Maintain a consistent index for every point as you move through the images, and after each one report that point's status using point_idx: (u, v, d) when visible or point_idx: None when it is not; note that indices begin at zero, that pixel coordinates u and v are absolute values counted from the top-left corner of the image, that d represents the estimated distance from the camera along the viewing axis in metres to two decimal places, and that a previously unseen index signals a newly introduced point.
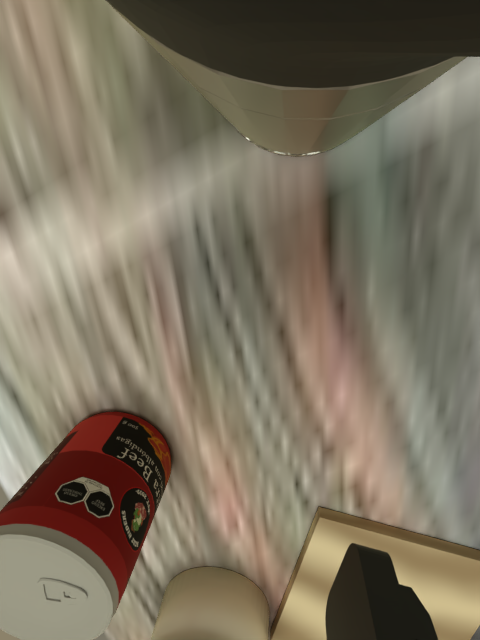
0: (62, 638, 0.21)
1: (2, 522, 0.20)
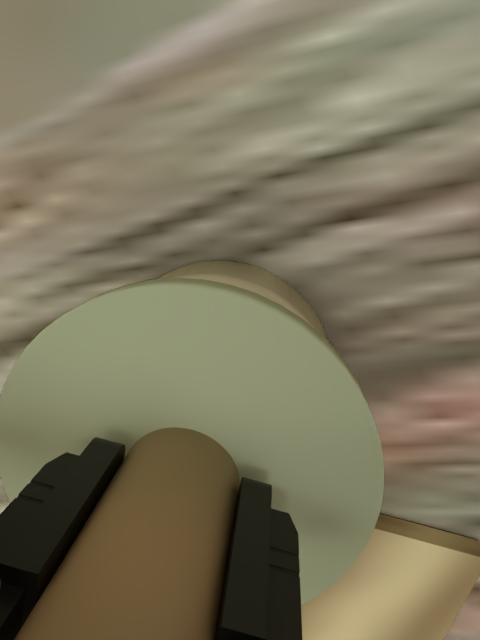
0: None
1: None
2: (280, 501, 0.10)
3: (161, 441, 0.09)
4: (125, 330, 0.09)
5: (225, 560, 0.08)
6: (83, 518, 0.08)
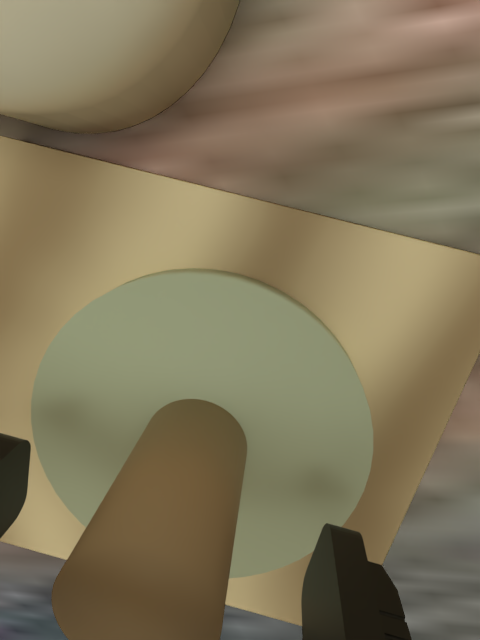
0: None
1: None
2: (282, 463, 0.12)
3: (179, 409, 0.11)
4: (147, 313, 0.11)
5: (237, 504, 0.09)
6: None
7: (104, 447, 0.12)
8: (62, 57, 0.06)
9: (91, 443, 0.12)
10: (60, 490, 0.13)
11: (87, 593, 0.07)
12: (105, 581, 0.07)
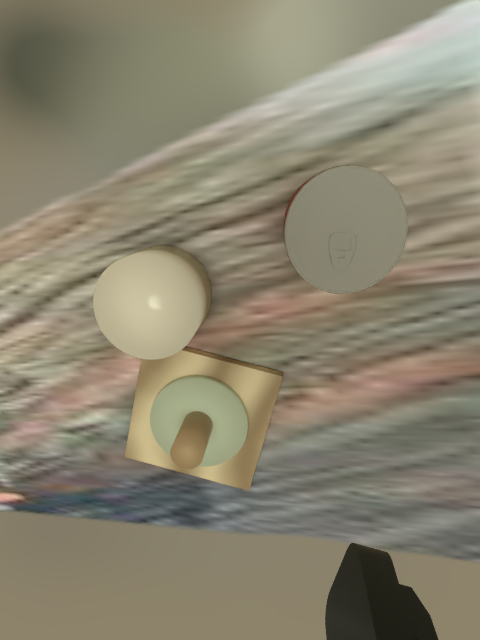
0: (294, 246, 0.26)
1: None
2: (223, 429, 0.41)
3: (193, 414, 0.40)
4: (185, 388, 0.40)
5: (208, 437, 0.38)
6: None
7: (171, 425, 0.41)
8: None
9: (167, 424, 0.41)
10: (157, 438, 0.42)
11: (177, 450, 0.36)
12: (181, 447, 0.36)
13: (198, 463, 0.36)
